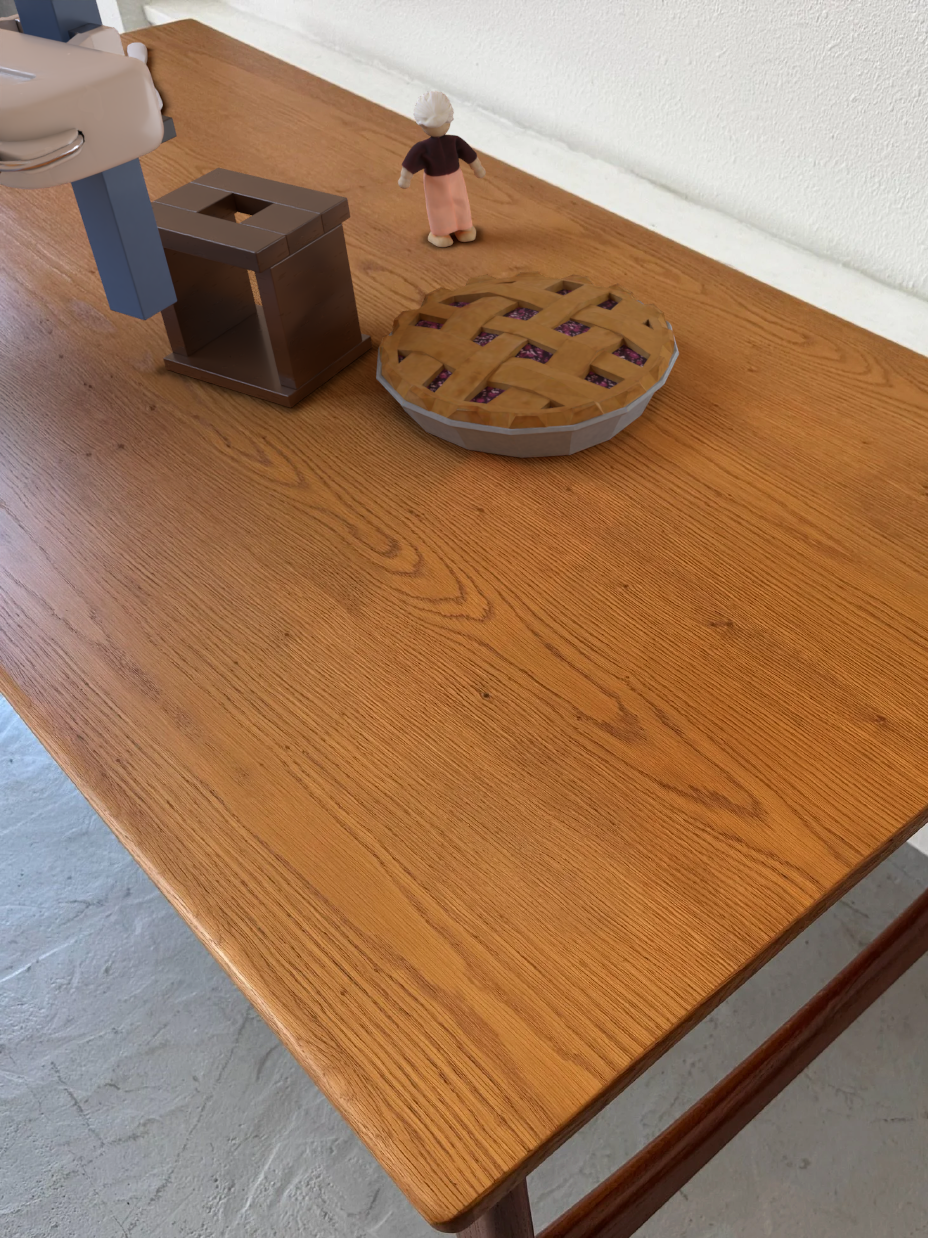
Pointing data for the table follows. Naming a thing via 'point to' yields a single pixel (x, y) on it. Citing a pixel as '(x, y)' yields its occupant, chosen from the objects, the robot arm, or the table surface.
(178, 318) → the stand
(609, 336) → the pie
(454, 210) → the grandmother figurine
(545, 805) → the table surface
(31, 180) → the robot arm
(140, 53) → the butter knife
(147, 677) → the table surface
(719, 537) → the table surface
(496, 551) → the table surface
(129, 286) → the peg
